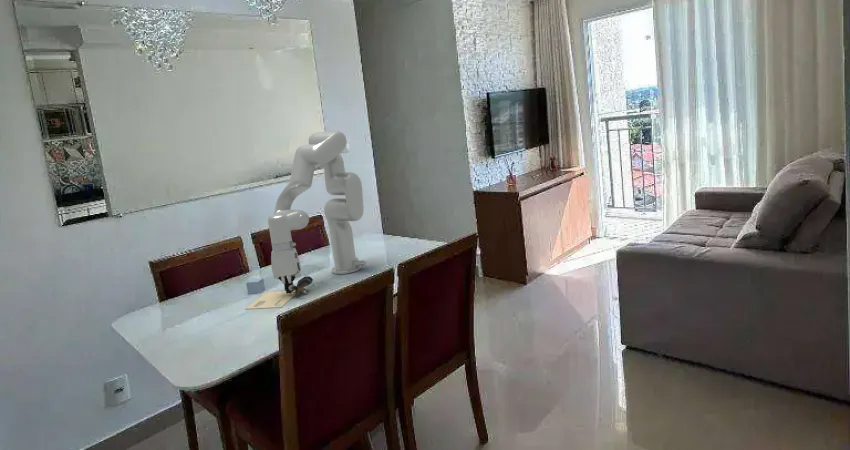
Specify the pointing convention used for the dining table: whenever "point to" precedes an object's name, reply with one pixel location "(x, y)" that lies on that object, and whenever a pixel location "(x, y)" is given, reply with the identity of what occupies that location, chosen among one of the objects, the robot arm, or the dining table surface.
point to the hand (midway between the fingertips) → (289, 292)
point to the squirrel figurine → (301, 285)
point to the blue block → (255, 286)
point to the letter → (272, 300)
